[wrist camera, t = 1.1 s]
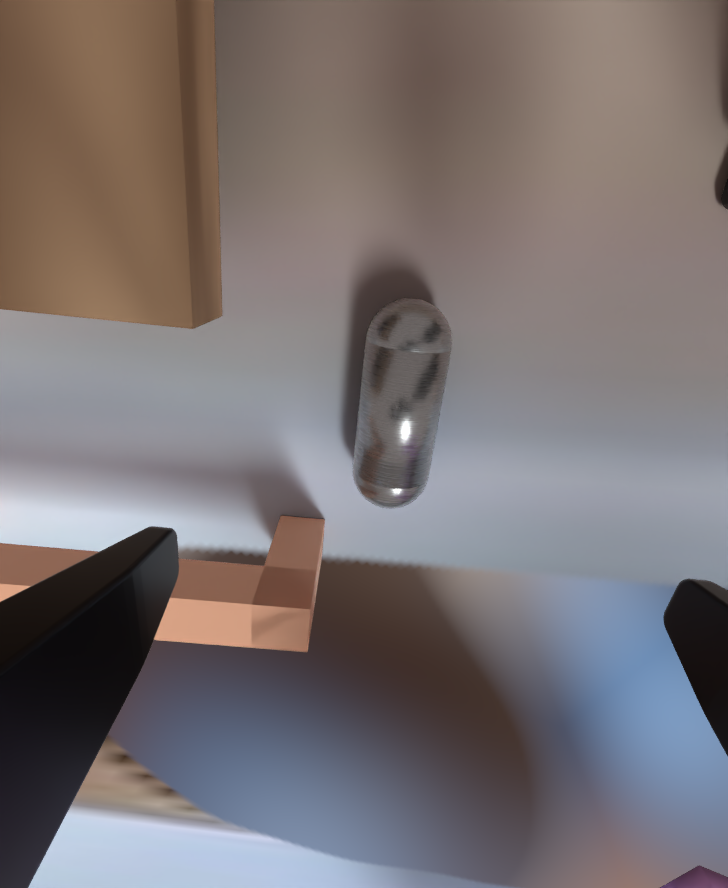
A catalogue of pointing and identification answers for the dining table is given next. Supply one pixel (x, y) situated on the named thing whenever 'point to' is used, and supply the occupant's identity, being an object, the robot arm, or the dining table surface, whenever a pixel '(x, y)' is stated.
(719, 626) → the robot arm
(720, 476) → the dining table surface
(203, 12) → the slab
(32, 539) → the dining table surface
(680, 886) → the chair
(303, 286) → the dining table surface
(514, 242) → the dining table surface
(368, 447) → the roller
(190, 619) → the bar
